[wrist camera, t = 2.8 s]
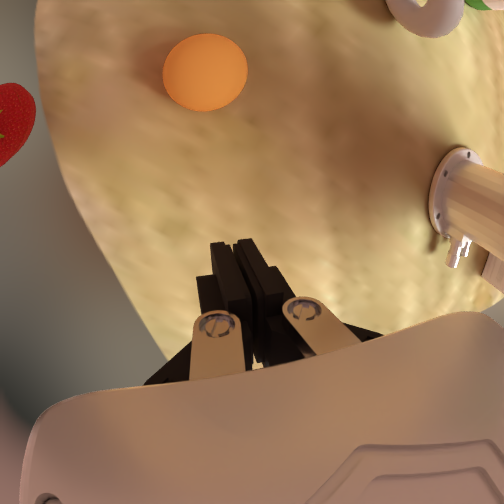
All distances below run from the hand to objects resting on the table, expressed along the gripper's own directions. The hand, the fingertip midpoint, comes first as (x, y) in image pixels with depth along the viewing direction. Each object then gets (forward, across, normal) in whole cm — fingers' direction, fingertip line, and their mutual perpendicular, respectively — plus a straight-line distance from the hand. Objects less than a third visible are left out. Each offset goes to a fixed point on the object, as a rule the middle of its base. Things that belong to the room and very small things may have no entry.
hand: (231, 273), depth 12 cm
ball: (+11, 0, -10) cm, 15 cm away
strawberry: (+15, +16, -8) cm, 23 cm away
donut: (+14, -20, -20) cm, 32 cm away
